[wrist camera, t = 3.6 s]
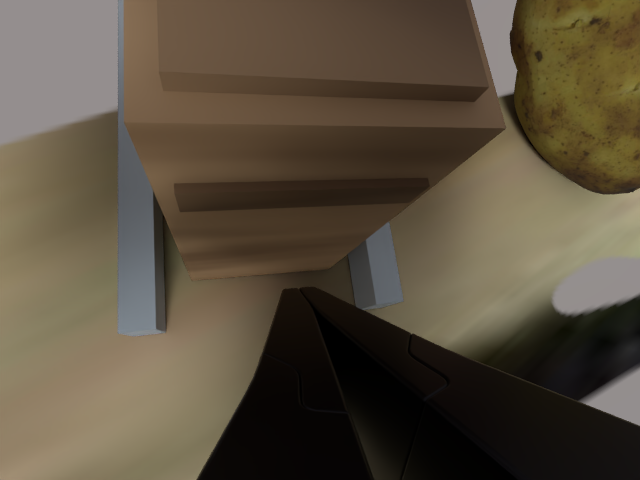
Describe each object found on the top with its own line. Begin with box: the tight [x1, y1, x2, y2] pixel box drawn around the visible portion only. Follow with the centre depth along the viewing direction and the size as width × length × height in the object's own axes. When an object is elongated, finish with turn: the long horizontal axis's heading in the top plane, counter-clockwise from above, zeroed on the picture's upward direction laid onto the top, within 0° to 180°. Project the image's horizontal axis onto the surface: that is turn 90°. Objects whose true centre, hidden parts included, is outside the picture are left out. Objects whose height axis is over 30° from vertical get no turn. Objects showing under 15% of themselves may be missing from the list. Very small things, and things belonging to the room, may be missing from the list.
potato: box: [510, 0, 640, 194], centre depth 20 cm, size 8×13×8 cm, turn 4°
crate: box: [124, 0, 506, 281], centre depth 12 cm, size 7×6×12 cm
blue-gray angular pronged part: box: [118, 0, 404, 336], centre depth 16 cm, size 18×11×7 cm, turn 7°
